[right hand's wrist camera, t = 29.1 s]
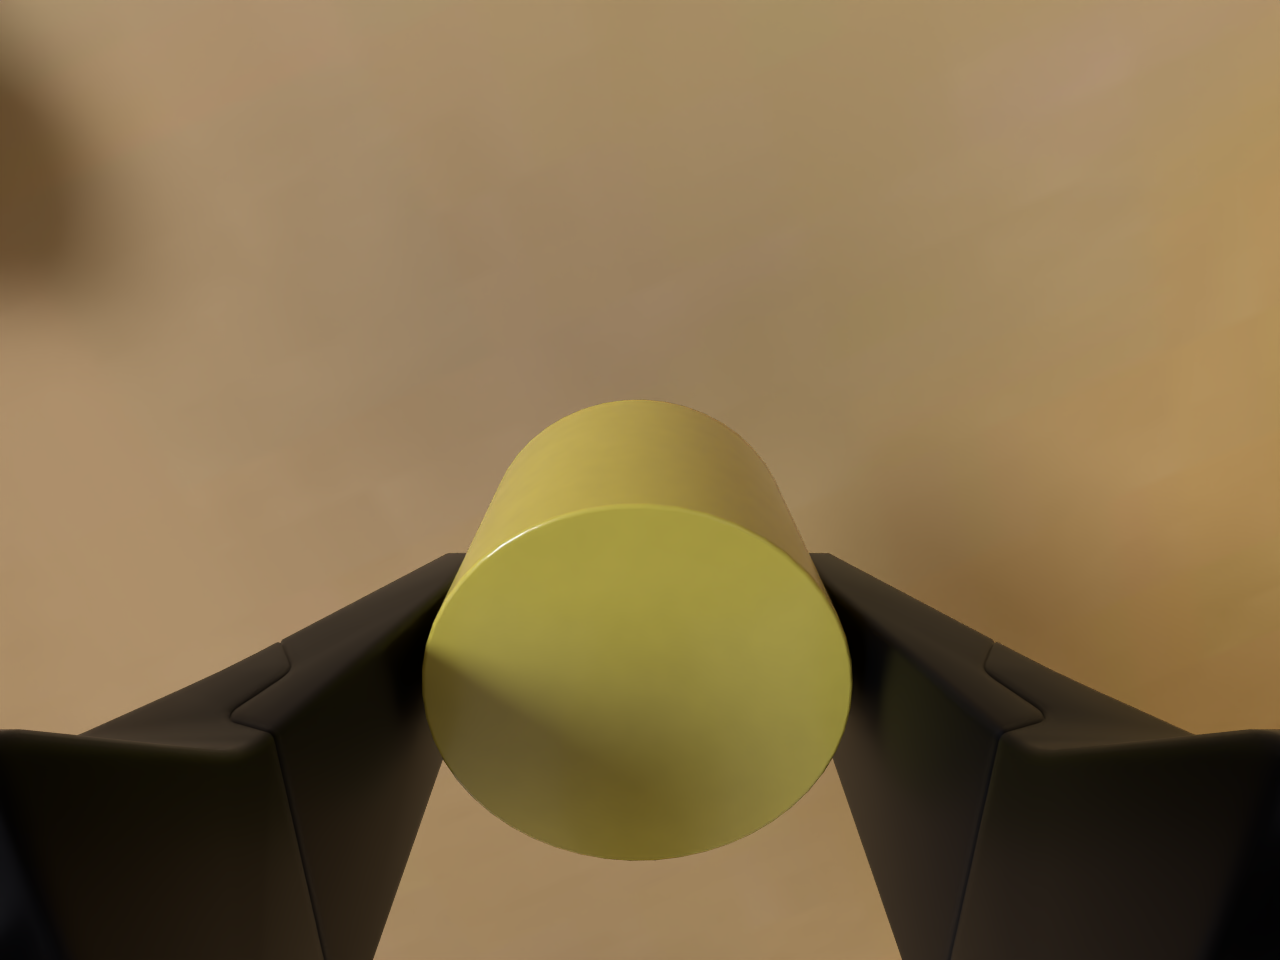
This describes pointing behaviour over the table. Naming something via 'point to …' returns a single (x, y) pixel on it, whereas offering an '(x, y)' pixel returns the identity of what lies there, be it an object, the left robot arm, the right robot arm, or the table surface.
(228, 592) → the table surface
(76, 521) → the table surface
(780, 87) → the table surface
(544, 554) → the yellow cylinder
